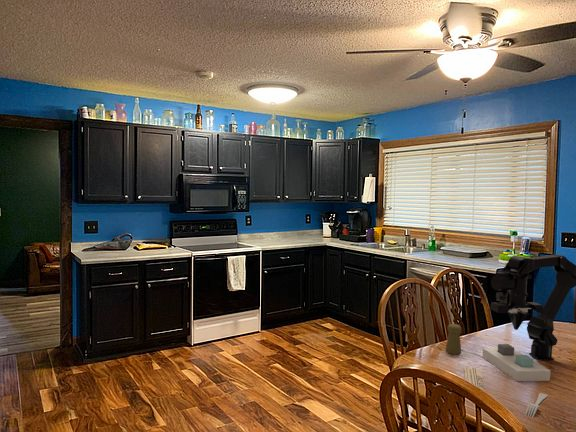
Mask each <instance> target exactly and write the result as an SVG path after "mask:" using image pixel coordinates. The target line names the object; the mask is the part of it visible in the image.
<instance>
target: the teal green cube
mask: <svg viewBox="0 0 576 432" xmlns="http://www.w3.org/2000/svg"><path fill="white" fill-rule="evenodd" d="M533 361H534V358H532V356H531V357H530V356H529V355H527V354H523V355H516V359H515V363H516V364H517V365H519V366H520V367H533Z"/></svg>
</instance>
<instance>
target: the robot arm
mask: <svg viewBox="0 0 576 432" xmlns="http://www.w3.org/2000/svg"><path fill="white" fill-rule="evenodd" d="M507 261H508V262H507V263H506V265H505V266H504V268H503V269H502V270H501V272H499V271H498V272H497V271H496V272H495V275H493V276H492V277H491V280H490V284H491V287H492V289H493V290H495V291H496V293H495V299H496V301H497V302H494V301H492V302H491V304H490V307H489V309H490V311H493V312H496V313H497V314H508V316H509V318H510V320H511V324H512V326H513V329H514V330H515V331H518V330H519V328H520V327H521V325H522V323H523V322H524V321H525V319H527V317H528V316H530V315H531V313H530V312H529V310H533V311H535V314H536V313H537V314H539V315H537V316H534V315H532V316H530V319H529V321H528V322H527V324H526V325H527V326H526V331H527V335H528V337H529V339H530V340H532V342H531V347H530V352H528V355H530V356H531V357H533V358H535V359H537V360H538V361H539V360H540V361H554V360H555V357H552V355H553V347H554V346H557V344H558V341H559V340H558V339H557V337H556V336H555V335H554V329H555V327H554V320H555V318H556V316H557V315H558V313H559V311H560V309H561V306H562V305H563V303H564V301H565V300H566V298H567V296H568V294H569V292H570V290H571V289H573V288H575V287H576V264H575V263H574V262H572V261H571V260H569V259H568V258H567V257H566V256H565V255H562V254H555V253H554V254H549V255H541V256H533V257H527V256H517V255H512V256H511V257H510V258H509V260H507ZM550 267H552V268H553V270H554V271H555V272H556V274H555V283H556V284H555V285H554V287H553V289H552V292H551V293H550V295H549V297H548V299H547V300H546V302H545V304H544V305H543V304H540V303H538V302H535V301H527V297H529V293H527V285H528V279H532V278H533V276H532V275H531V274H530V273H531V272H533V271H534V270H535V269H540V268H550ZM497 291H498V292H497ZM500 291H502V292H500ZM503 291H506V293H503ZM498 301H499V302H498Z"/></svg>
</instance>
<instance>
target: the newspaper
mask: <svg viewBox="0 0 576 432" xmlns="http://www.w3.org/2000/svg"><path fill="white" fill-rule="evenodd" d="M463 377H464V380H465V379H466V380H468V381H469V382H471V383H472V384H474V385H476V386H477V387H479V388H481V389H483V390H484V391H486V387H485V382H484V378H483V377H484V376H483V372H482V370H481V369H479V368H477V367H476V368H475V367H470V366H466V367H465V366H464V367H463Z"/></svg>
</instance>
